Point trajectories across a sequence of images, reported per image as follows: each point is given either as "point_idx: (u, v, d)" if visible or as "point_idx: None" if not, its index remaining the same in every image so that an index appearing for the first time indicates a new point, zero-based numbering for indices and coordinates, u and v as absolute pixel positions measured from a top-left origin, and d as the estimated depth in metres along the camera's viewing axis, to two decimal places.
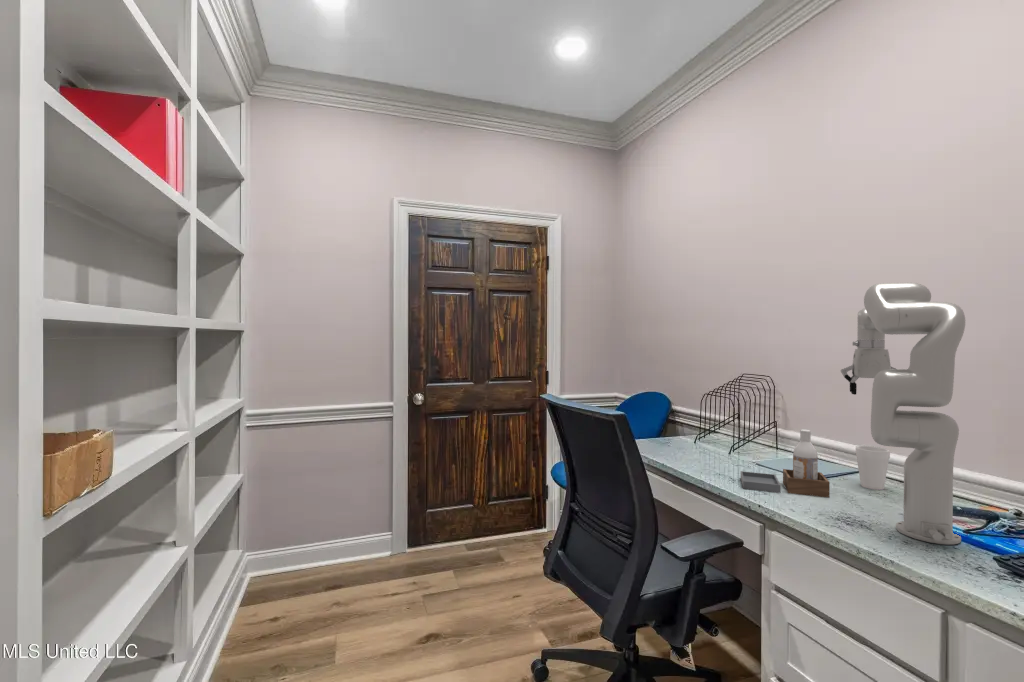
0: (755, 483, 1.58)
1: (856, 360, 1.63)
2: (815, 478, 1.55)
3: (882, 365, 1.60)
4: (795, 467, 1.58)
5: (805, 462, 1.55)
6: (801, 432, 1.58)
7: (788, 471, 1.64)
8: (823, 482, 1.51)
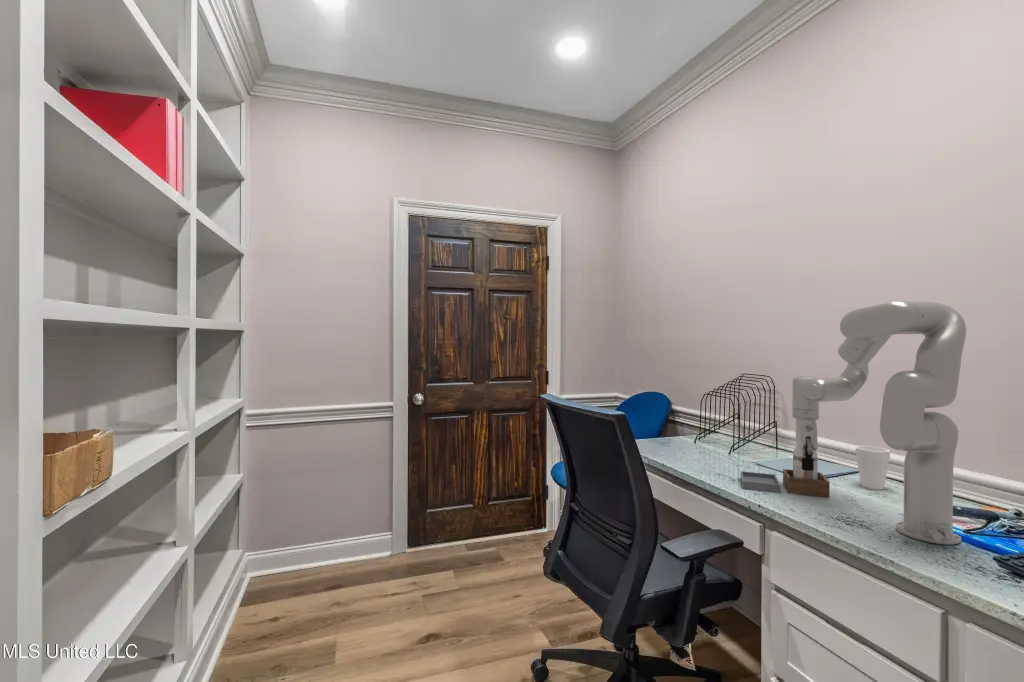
0: (755, 483, 1.58)
1: (816, 432, 1.53)
2: (815, 478, 1.55)
3: None
4: (795, 467, 1.58)
5: None
6: None
7: (788, 471, 1.64)
8: (823, 482, 1.51)
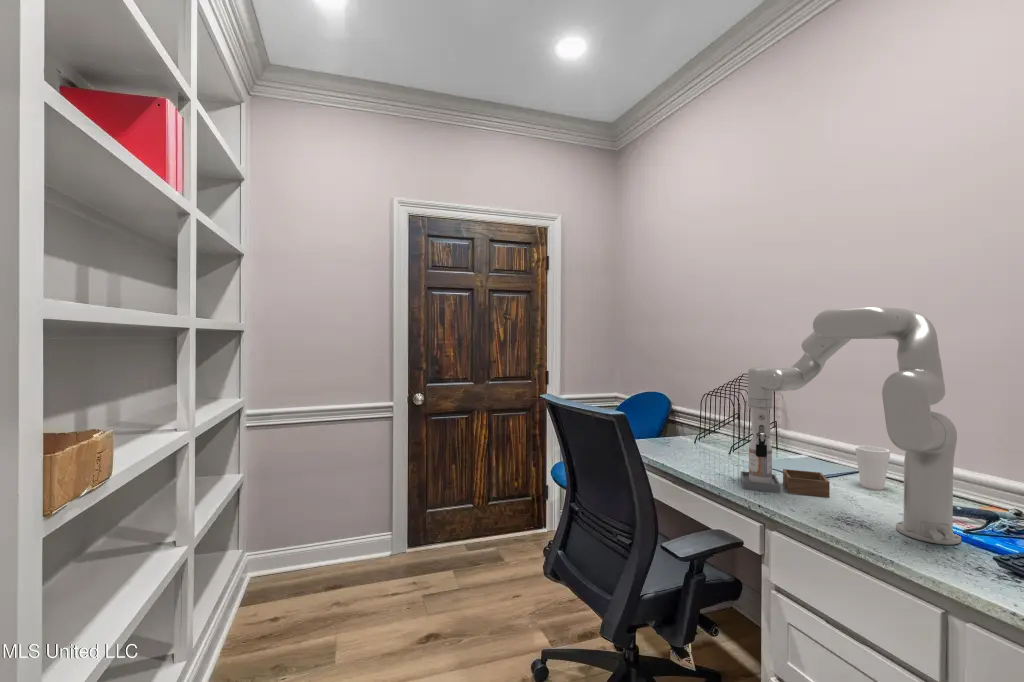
0: (755, 483, 1.58)
1: (768, 421, 1.58)
2: (769, 470, 1.60)
3: None
4: (750, 460, 1.62)
5: None
6: None
7: (788, 471, 1.64)
8: (823, 482, 1.51)
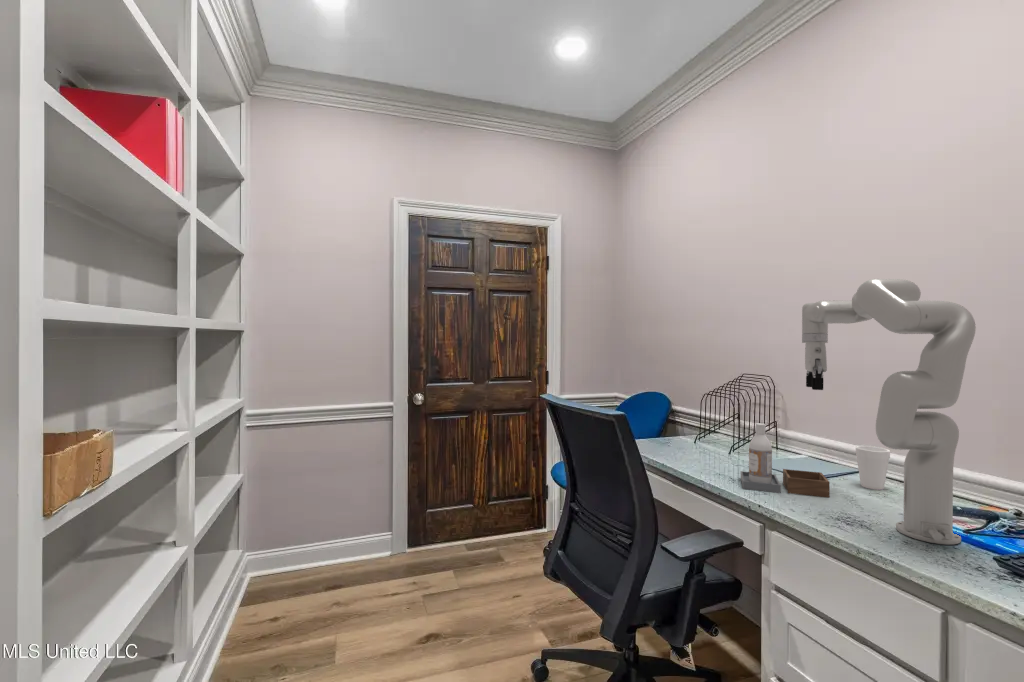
0: (755, 483, 1.58)
1: (825, 354, 1.59)
2: (769, 470, 1.60)
3: None
4: (750, 460, 1.62)
5: (759, 455, 1.60)
6: (756, 426, 1.63)
7: (788, 471, 1.64)
8: (823, 482, 1.51)
